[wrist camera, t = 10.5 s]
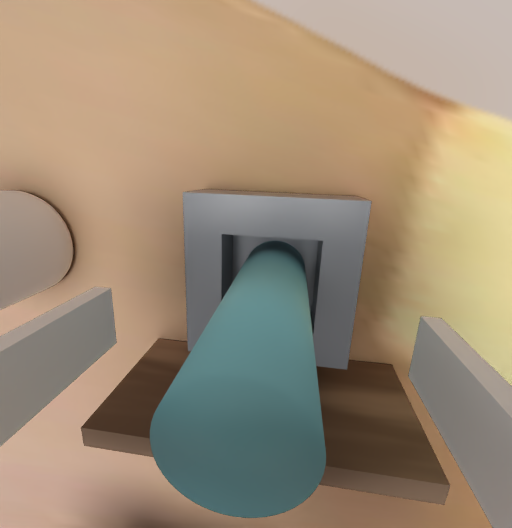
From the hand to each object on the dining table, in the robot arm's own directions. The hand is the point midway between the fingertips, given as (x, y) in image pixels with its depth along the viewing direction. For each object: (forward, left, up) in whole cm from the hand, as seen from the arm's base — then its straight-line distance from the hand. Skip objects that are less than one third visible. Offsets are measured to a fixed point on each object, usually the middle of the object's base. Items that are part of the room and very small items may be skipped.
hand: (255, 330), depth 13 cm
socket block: (0, 0, -9) cm, 9 cm away
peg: (0, 0, -8) cm, 8 cm away
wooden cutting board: (-7, 0, -9) cm, 11 cm away
